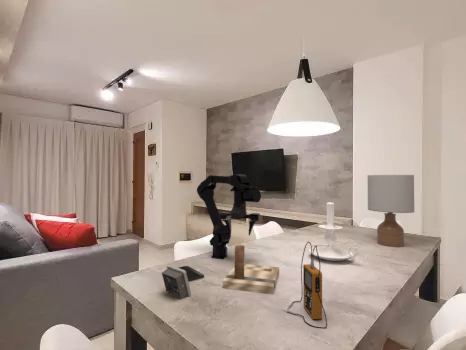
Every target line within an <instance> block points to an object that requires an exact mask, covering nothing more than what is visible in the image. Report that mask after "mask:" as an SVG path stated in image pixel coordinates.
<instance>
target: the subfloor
mask: <svg viewBox="0 0 466 350" xmlns="http://www.w3.org/2000/svg"><path fill="white" fill-rule="evenodd" d="M234 274H235V265H234V266H233V268H232V269H231V270H230V271H229V272H228V274H227V275H226V276H225V277H224V279H223V280H222V289H229V290H237V291H244V292H245V291H246V292H251V293H259V294H260V293H261V294H266V295H268V294H269V295H274V294H275V293H274V292H275V289H276V287H277V282H278V279H279V275H280V267H279V266H268V265H259V264H250V263H244V278H242V279H237V278H235V277H234Z"/></svg>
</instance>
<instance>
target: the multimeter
mask: <svg viewBox="0 0 466 350" xmlns="http://www.w3.org/2000/svg"><path fill="white" fill-rule="evenodd" d="M308 244H309V245H310V248H311V253H310V263H309V264H308V263H307V264H303V261H304V256H305V251H306V248H307V245H308ZM313 247H314V249H315V247H316V251H317V247H318V246H317V245H315V246H312V244H311V241H307V242H306V243H305V246H304V248H303V252H302V257H301V265H300V276H301V277H300V280H301V283H300V284H301V285H302V287H301V299H300V300H295V301H292V302H291V303H290V304H289V305H288V307H287V310H286V309H284V308H281V310H282V311H284V312H287V313H289V314H293V315H298V316H300V317H302V318H303V322H304V323H306V324H307V325H308V326H310V327H313V328H316V329H317V328H318V329H326V328H327V327H328V319H327V315H326V311H325V309H324V305H323V273H322V271H321V258H319V255H318V252H317V255H318V257H317V258H318V265H319V269H318V268H317V267H316V266H315V260H314V257H313V254H312V248H313ZM314 249H313V252H314ZM301 302H303V308H304V310H306V312H307V314H308V315H309V316H310V318H311V320H322V319H323V313H324V317H325V324H326V325H325V326H317V325H316V326H315V325H311V324H310V323H308V322H307V321H306V320H305V317H304V316H303V315H302V314H299V313H296V312H294V311H291V310H289V309H290V308H291V307H292V306H293V304H294V303H301Z"/></svg>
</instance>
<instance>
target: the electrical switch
mask: <svg viewBox="0 0 466 350" xmlns="http://www.w3.org/2000/svg"><path fill="white" fill-rule="evenodd" d="M161 276H162V280H163V284H164V287H165V291H166V293H168V294H169V295H171V296H174V297H176V298H178V299H180V300H182V299H184V298H185V297H186V296H188V297H190V296H191V295H192V291H191V286H190V282H188V278H187V274H186V271H185V270H182V269H180V268H179V267H176V266H173V265H171V264H169V265H167V266H166V269H165V270H164V271H162V272H161Z"/></svg>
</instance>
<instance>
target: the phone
mask: <svg viewBox="0 0 466 350" xmlns="http://www.w3.org/2000/svg"><path fill="white" fill-rule="evenodd" d="M178 268H180V269H182V270H185V271H186V274H187V278H188V282H189V283H191V282H194V281H198V280H201V279H204V278H205V274H203V273H201V272H200V271H198V270H196V269H195V268H192V267H190V266H188V265H183V266H180V267H179V266H178Z"/></svg>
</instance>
